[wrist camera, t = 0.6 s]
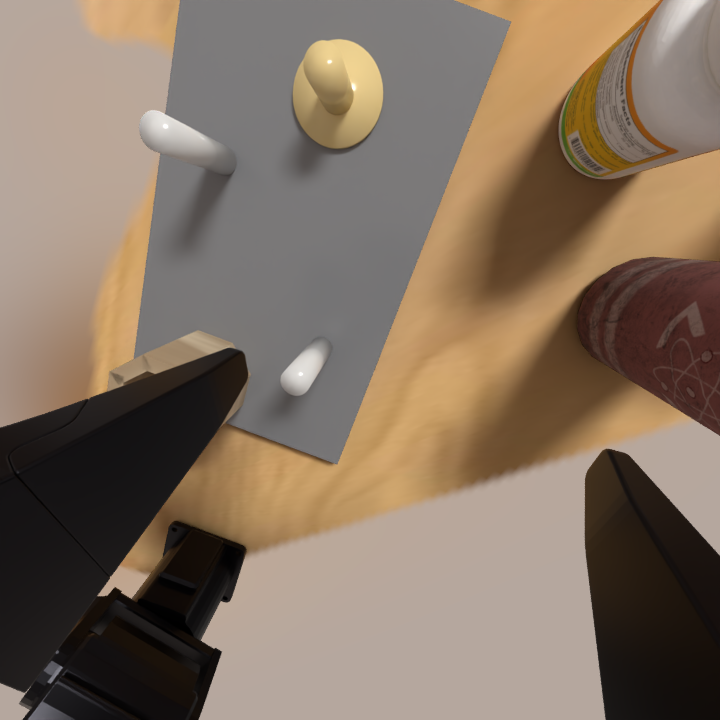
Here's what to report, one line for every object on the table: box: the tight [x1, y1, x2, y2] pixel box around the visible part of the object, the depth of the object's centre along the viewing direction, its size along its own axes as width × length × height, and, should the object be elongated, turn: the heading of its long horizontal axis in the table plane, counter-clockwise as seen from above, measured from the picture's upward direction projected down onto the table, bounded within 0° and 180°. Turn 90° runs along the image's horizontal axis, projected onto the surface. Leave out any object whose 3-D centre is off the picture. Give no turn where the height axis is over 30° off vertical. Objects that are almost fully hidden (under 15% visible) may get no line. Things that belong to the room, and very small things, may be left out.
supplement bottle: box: [559, 0, 720, 179], centre depth 13 cm, size 5×5×10 cm
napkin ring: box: [107, 330, 251, 430], centre depth 21 cm, size 6×6×5 cm
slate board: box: [134, 0, 511, 464], centre depth 18 cm, size 25×15×7 cm, turn 161°
